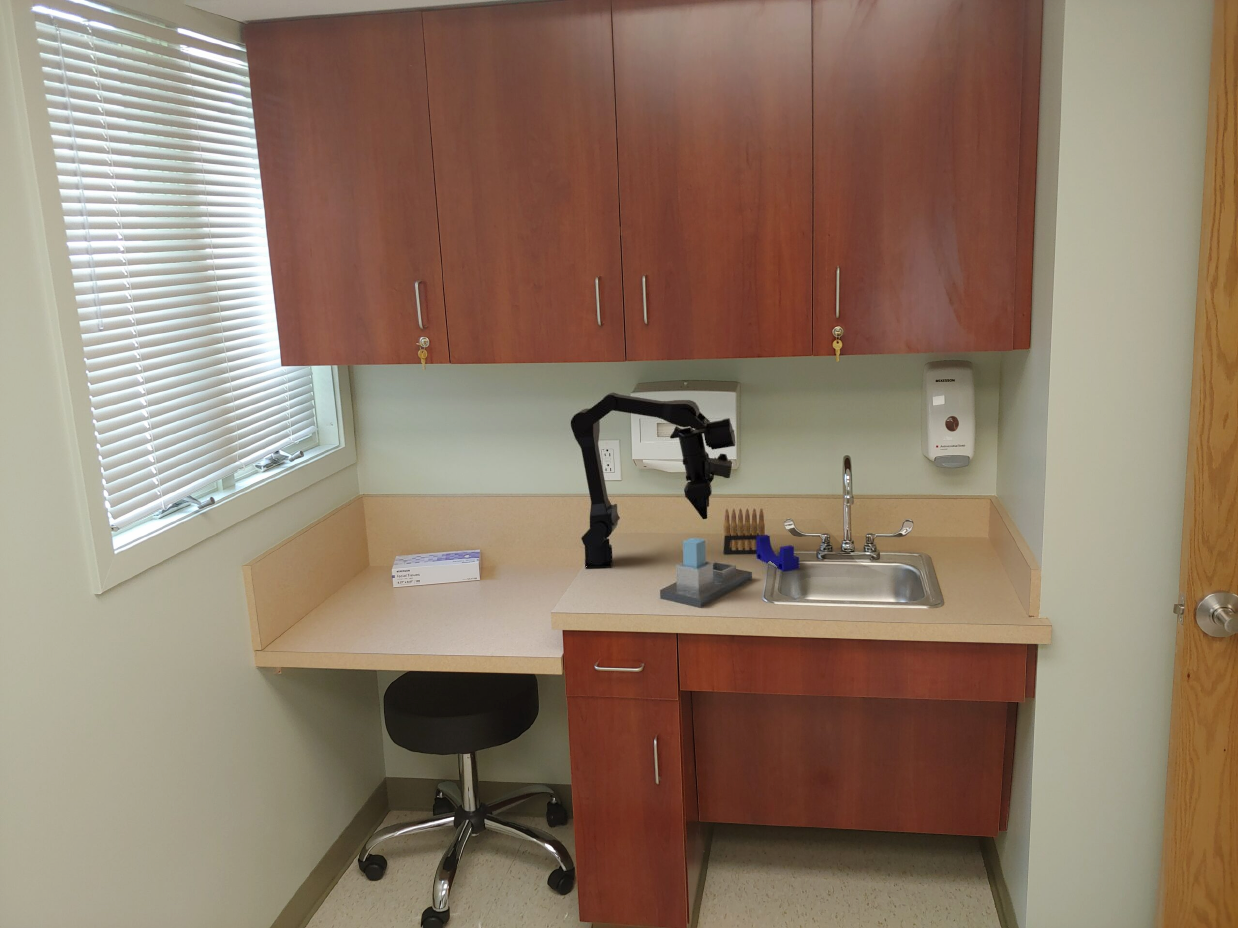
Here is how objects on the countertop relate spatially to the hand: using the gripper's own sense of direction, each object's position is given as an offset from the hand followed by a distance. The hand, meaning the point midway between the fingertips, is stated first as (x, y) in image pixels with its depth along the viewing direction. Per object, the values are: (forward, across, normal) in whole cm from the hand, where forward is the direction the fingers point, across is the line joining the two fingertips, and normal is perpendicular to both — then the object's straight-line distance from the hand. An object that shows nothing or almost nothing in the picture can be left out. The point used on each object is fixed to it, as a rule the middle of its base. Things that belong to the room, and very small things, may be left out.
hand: (706, 512), depth 240 cm
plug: (+6, -21, +3) cm, 22 cm away
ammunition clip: (+16, +11, -6) cm, 20 cm away
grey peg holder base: (+13, -17, +1) cm, 21 cm away
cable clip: (+17, +3, -15) cm, 23 cm away
